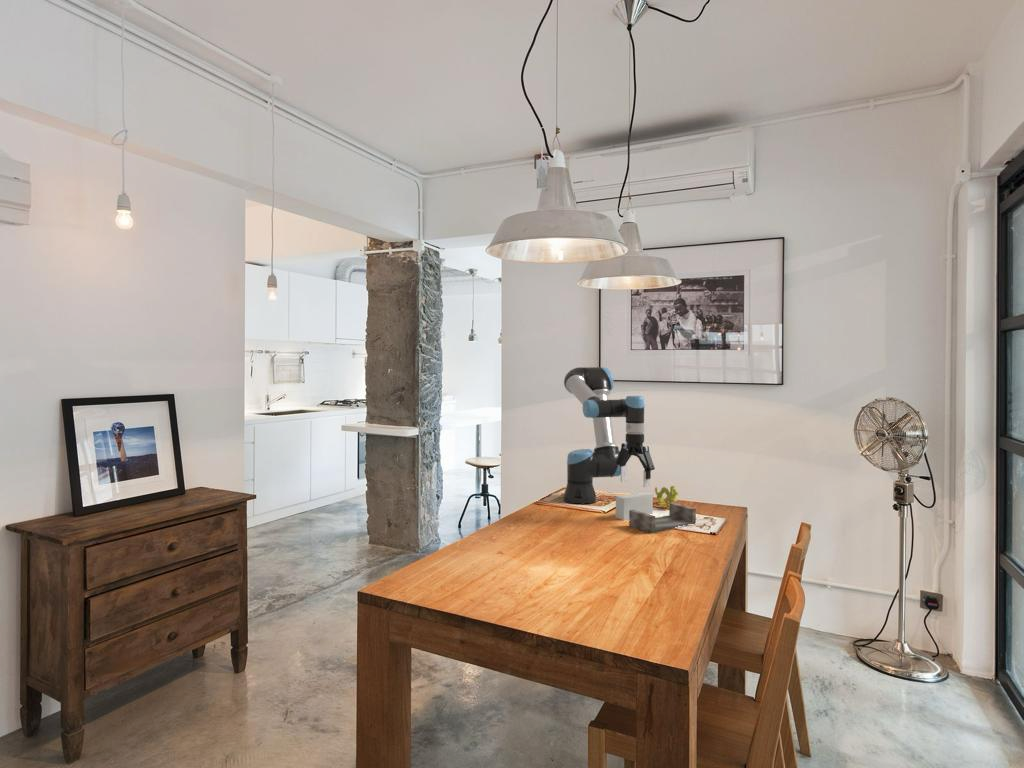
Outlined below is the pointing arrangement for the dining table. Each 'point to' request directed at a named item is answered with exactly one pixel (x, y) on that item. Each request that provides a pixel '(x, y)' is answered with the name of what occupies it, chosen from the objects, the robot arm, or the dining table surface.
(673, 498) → the green plant sprig
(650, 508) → the light grey block
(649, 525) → the cradle rack
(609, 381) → the robot arm
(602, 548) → the dining table surface
